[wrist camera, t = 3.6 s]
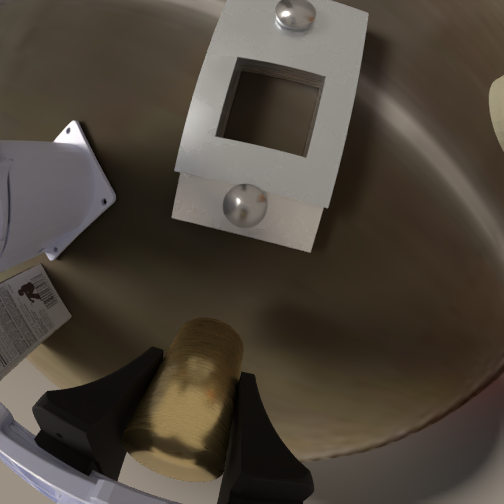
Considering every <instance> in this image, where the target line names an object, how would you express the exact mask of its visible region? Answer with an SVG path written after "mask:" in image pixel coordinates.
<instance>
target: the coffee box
mask: <svg viewBox="0 0 504 504" xmlns="http://www.w3.org/2000/svg"><path fill="white" fill-rule="evenodd" d="M71 317H72V316H71V314H70V313H69V311H68V309H67V308H66V306H65V305H64V303H63V302H62V300H61V298H60V297H59V295H58V293H57V292H56V290H55V288H54V287H53V285H52V283H51V281H50V279H49V278H48V276H47V274H46V272H45V270H44V268H43V267H42V265H41V264H37V265H35V266H33V267H31V268H29V269H27V270H25V271H22V272H20V273H18V274H16V275H14V276H12V277H10V278H8V279H6V280H4V281H2V282H0V381H1V380H2V379H3V378H4V377H5V376H6V375H7V374H8V373H9V372H10V371H11V370H12V369H13V368H14V367H16V366H17V365H18V364H19V363H20V362H21V361H22V360H23V359H24V358H25V357H27V356H28V355H29V354H30V353H31V352H32V351H33V350H34V349H35V348H37V347H38V346H39V345H40V344H41V343H42V342H43V341H45V340H46V339H47V338H48V337H49V336H50V335H51V334H53V333H54V332H55V331H56V330H57V329H59V328H60V327H61V326H62V325H63V324H64V323H66V322H67V321H68V320H69V319H70V318H71Z"/></svg>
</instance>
